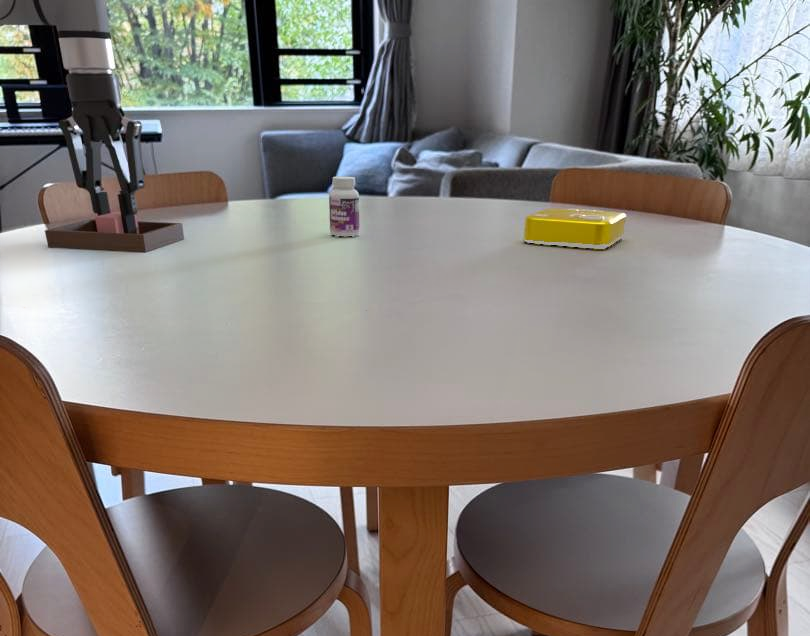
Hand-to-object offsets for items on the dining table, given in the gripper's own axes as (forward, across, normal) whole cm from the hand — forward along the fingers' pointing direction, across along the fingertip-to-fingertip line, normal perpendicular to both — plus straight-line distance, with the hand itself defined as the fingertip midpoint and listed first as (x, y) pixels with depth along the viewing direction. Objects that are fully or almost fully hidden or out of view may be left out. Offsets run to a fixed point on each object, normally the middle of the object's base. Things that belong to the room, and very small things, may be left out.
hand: (119, 234), depth 128 cm
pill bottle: (+2, -35, -18) cm, 39 cm away
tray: (+1, 0, 0) cm, 1 cm away
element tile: (+2, -76, -23) cm, 79 cm away
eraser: (0, 0, 0) cm, 0 cm away
